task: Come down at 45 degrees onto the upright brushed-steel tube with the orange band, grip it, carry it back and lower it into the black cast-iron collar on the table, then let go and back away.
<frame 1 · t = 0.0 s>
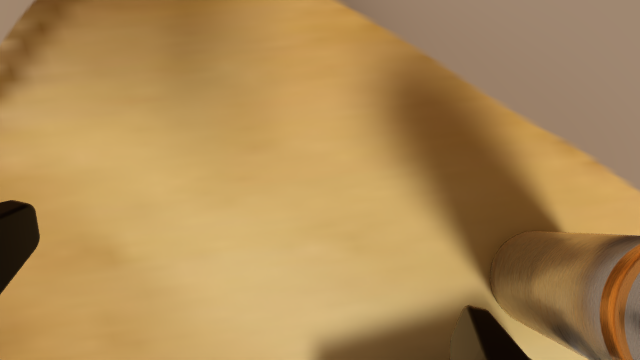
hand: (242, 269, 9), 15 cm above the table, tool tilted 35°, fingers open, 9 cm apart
tube: (537, 278, 23), on the table
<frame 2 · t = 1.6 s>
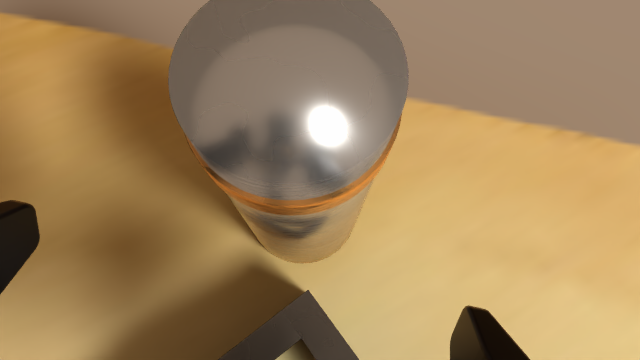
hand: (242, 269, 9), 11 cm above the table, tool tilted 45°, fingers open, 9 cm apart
tube: (303, 209, 20), on the table
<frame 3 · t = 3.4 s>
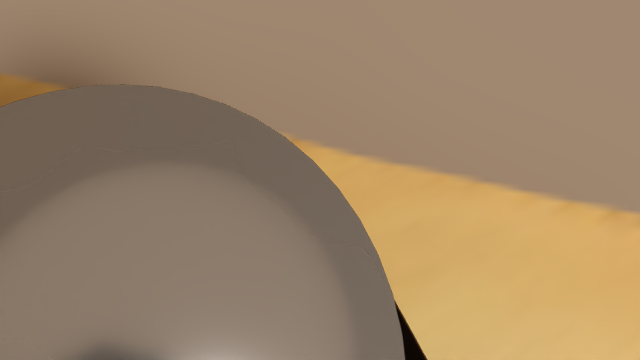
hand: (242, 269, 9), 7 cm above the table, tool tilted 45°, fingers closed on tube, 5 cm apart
tube: (262, 330, 15), on the table, touching gripper
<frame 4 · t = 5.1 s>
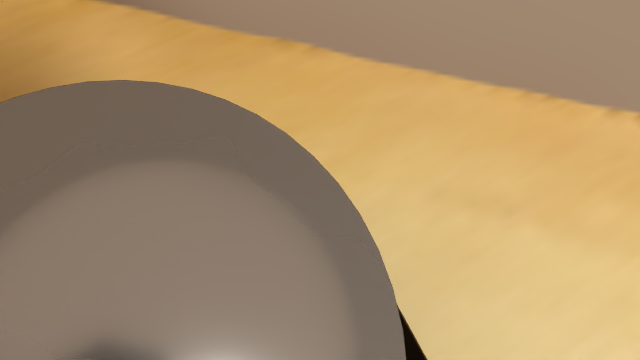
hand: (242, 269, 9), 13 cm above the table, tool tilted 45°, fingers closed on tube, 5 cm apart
tube: (262, 329, 15), point 6 cm above the table, touching gripper
when the fingers open (8 cm above the table, at t = 6.9 s): tube drops 2 cm, resting in collar.
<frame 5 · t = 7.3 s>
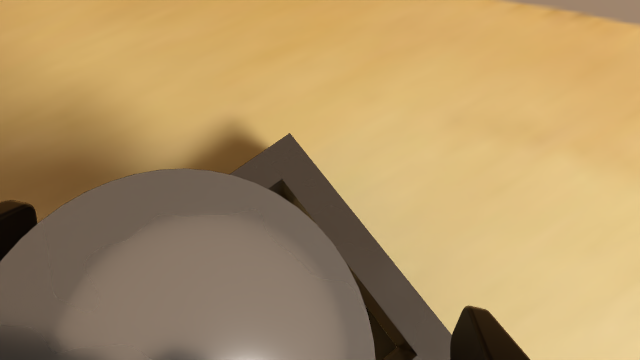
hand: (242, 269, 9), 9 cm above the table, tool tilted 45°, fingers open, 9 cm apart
collar: (268, 328, 17), on the table
tube: (265, 331, 17), resting in collar
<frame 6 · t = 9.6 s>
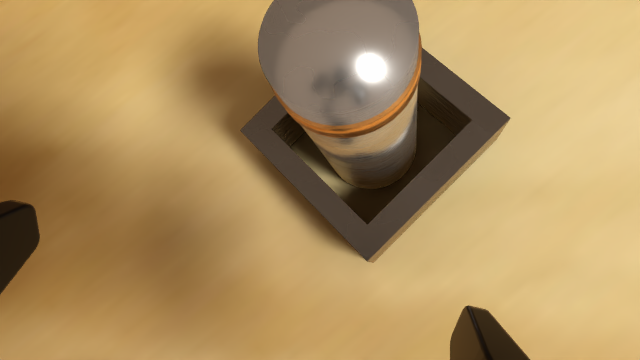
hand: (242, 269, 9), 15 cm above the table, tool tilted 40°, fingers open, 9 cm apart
collar: (372, 144, 25), on the table
tube: (371, 146, 25), resting in collar
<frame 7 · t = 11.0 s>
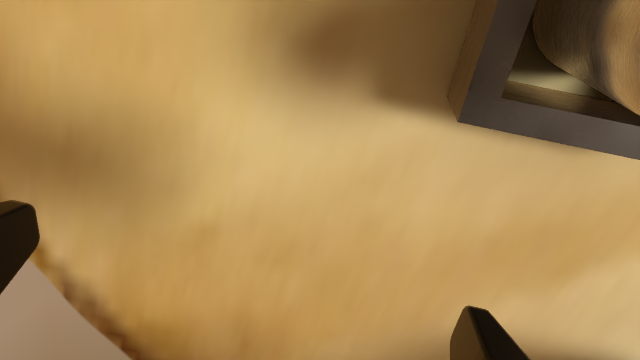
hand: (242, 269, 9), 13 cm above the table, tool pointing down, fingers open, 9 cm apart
collar: (601, 6, 17), on the table
tube: (600, 9, 17), resting in collar
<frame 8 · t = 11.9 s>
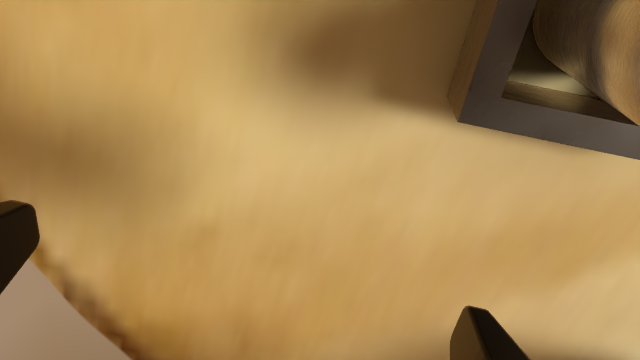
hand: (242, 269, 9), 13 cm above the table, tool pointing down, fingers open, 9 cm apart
collar: (601, 6, 17), on the table
tube: (601, 9, 17), resting in collar
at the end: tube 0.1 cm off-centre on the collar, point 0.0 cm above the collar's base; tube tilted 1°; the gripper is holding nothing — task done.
